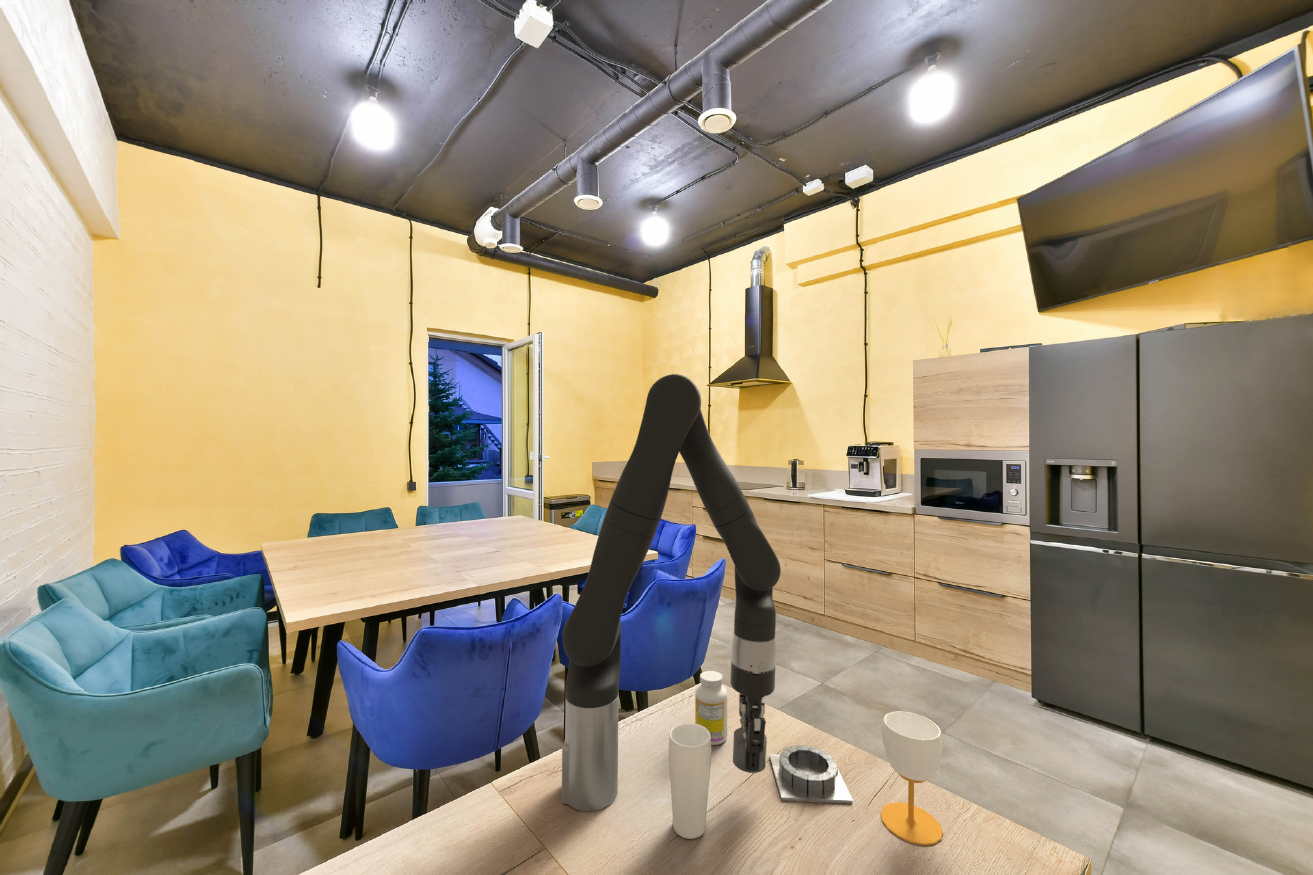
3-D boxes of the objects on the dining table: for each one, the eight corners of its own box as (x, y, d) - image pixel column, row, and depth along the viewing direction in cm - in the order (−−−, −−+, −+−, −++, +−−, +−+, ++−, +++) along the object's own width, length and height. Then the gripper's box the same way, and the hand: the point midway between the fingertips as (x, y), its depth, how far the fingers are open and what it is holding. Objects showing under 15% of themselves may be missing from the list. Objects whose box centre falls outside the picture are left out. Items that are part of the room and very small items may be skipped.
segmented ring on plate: (781, 800, 87) (781, 782, 87) (769, 756, 99) (769, 741, 99) (852, 803, 87) (852, 785, 87) (831, 759, 99) (831, 743, 99)
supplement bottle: (705, 724, 110) (705, 665, 110) (732, 735, 107) (733, 673, 107) (689, 739, 105) (689, 677, 105) (717, 750, 101) (717, 686, 101)
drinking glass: (708, 848, 77) (709, 749, 77) (664, 840, 78) (665, 743, 78) (712, 815, 84) (713, 724, 84) (672, 809, 85) (672, 720, 85)
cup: (911, 798, 88) (911, 706, 88) (956, 837, 80) (957, 735, 80) (868, 809, 85) (869, 714, 85) (910, 851, 77) (911, 745, 77)
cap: (734, 771, 85) (735, 743, 85) (731, 750, 91) (732, 724, 91) (768, 773, 85) (769, 746, 85) (762, 753, 90) (764, 727, 90)
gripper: (727, 642, 95) (723, 732, 95) (736, 678, 81) (731, 784, 81) (767, 644, 95) (764, 734, 95) (783, 681, 80) (779, 788, 80)
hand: (749, 757), depth 88 cm, fingers closed on cap, 5 cm apart
